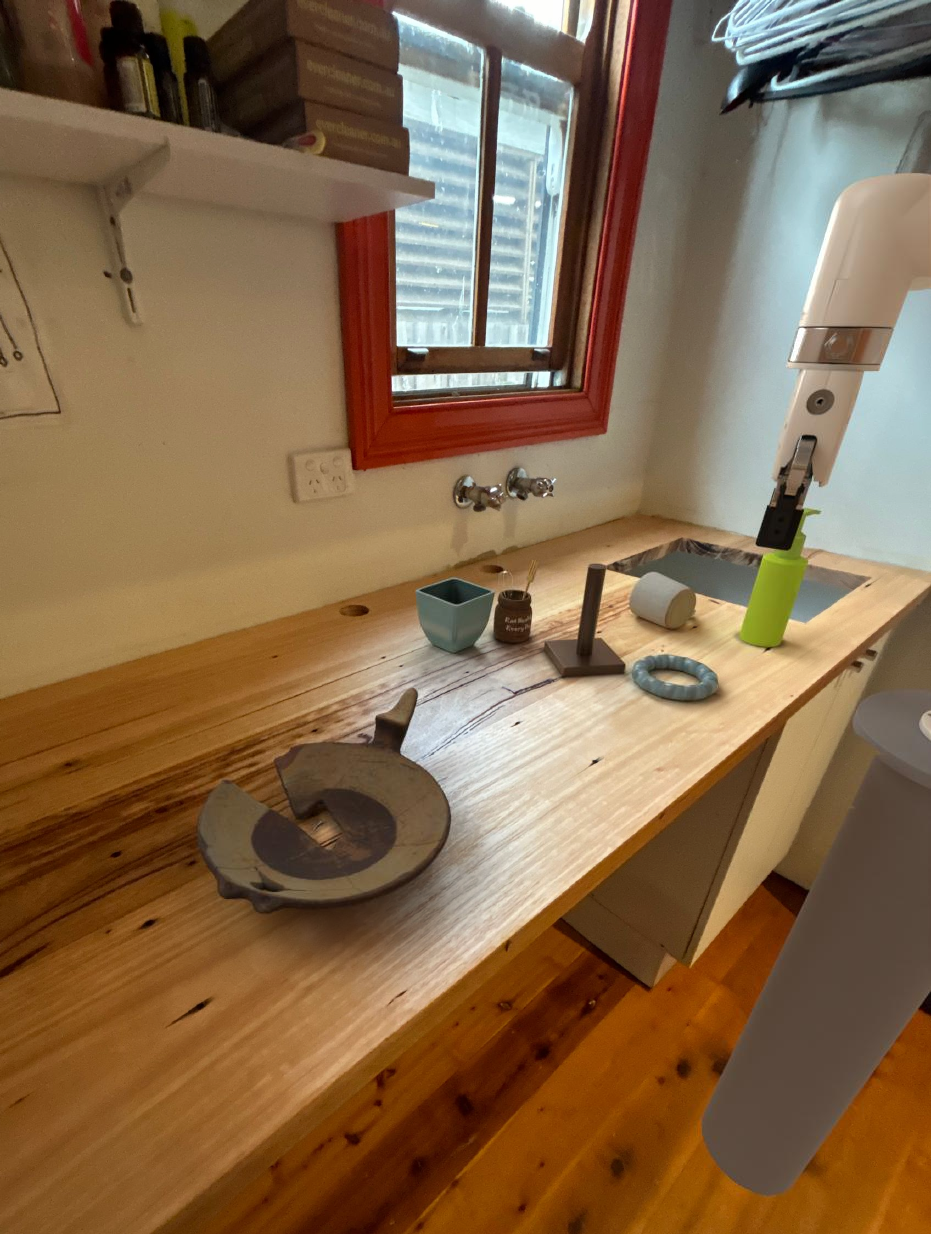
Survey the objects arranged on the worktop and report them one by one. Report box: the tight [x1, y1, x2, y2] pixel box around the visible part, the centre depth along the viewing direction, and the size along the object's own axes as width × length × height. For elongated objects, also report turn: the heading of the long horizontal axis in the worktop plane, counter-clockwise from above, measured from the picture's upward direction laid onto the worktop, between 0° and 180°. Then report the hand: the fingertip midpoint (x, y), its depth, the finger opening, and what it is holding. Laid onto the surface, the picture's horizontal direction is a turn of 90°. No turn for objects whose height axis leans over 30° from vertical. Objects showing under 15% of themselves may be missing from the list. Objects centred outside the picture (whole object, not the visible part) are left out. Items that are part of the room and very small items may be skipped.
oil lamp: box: [196, 687, 452, 915], centre depth 57 cm, size 22×30×8 cm
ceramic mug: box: [628, 571, 697, 629], centre depth 101 cm, size 11×8×8 cm
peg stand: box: [543, 562, 626, 678], centre depth 87 cm, size 9×9×14 cm
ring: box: [631, 653, 719, 702], centre depth 84 cm, size 11×11×2 cm
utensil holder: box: [492, 559, 540, 644], centre depth 95 cm, size 6×6×12 cm
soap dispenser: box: [738, 507, 822, 648], centre depth 91 cm, size 6×7×20 cm
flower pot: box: [415, 577, 496, 654], centre depth 93 cm, size 9×9×9 cm
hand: (775, 536), depth 65 cm, fingers open, 9 cm apart
